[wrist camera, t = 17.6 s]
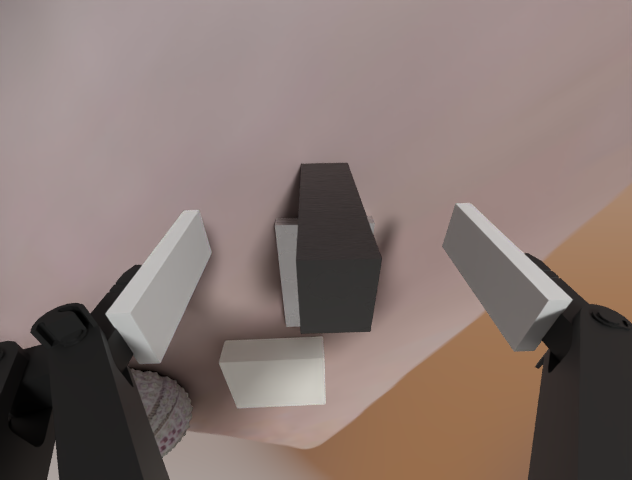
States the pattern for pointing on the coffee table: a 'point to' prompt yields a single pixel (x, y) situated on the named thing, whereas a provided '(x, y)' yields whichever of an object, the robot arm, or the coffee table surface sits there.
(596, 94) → the coffee table surface
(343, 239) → the grey l-shaped block
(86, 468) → the robot arm
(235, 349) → the tile
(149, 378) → the sea urchin shell
